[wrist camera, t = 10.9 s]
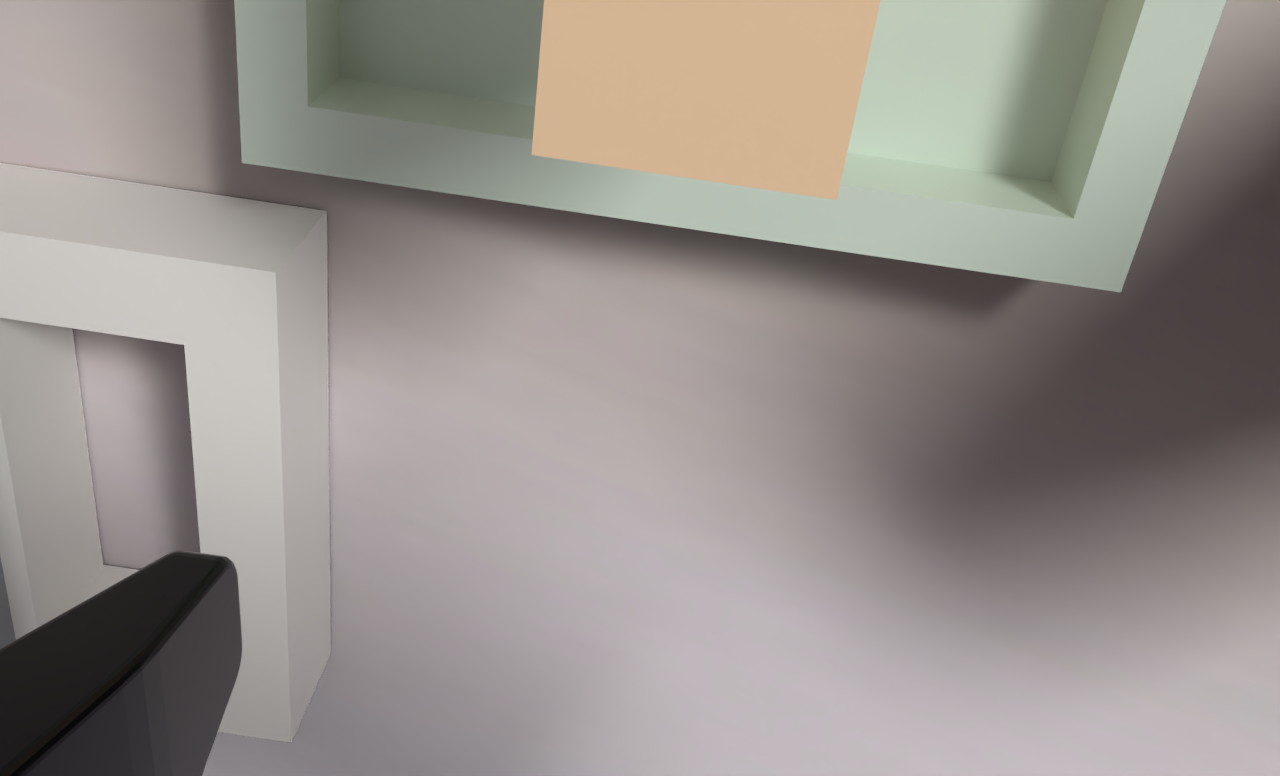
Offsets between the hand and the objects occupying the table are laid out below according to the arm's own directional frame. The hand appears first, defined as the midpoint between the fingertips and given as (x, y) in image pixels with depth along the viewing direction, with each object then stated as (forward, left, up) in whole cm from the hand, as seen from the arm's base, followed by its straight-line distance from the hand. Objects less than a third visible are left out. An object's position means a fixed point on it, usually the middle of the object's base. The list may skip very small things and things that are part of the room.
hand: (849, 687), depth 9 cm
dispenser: (-7, +11, -12) cm, 18 cm away
